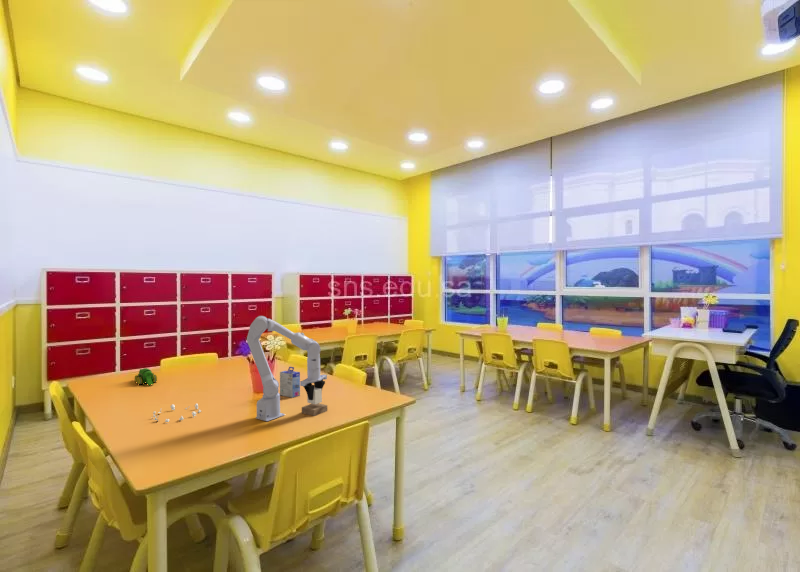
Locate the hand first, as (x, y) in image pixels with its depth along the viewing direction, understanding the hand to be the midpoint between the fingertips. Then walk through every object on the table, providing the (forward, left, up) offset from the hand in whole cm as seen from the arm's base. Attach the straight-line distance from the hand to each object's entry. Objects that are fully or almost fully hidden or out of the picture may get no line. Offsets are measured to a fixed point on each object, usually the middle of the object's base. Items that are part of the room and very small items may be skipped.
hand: (314, 398), depth 177 cm
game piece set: (-35, +50, -7) cm, 61 cm away
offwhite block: (0, 0, -2) cm, 2 cm away
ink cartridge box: (+12, +30, -6) cm, 33 cm away
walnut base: (0, 0, -6) cm, 6 cm away
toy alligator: (-13, +130, -7) cm, 131 cm away
